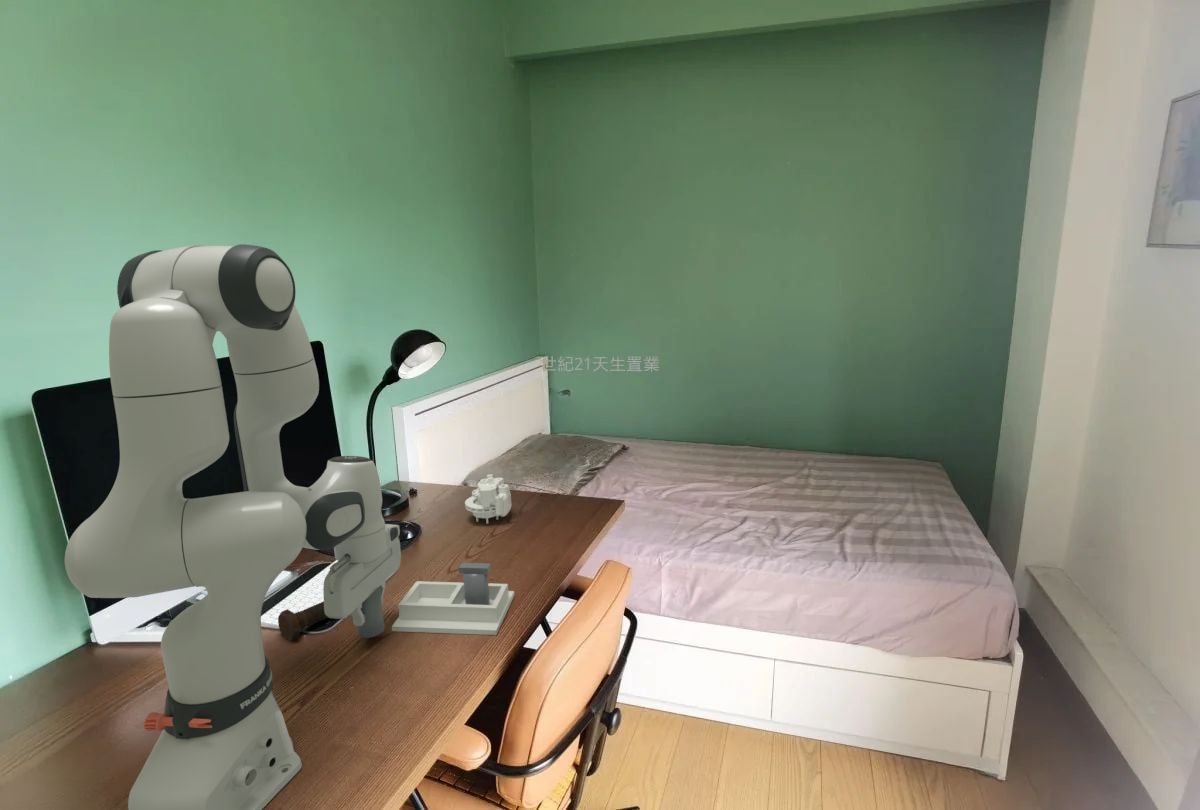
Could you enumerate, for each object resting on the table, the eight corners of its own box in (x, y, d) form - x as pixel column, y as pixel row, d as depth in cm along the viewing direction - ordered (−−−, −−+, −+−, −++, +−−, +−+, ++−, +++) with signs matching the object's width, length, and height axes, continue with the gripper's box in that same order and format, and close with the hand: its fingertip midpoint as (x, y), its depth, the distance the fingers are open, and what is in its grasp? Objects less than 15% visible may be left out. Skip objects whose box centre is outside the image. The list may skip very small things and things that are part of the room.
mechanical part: (474, 510, 175) (471, 469, 172) (516, 511, 173) (514, 470, 171) (460, 527, 164) (456, 484, 161) (504, 529, 162) (502, 485, 160)
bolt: (361, 613, 129) (288, 647, 117) (348, 595, 131) (275, 627, 119) (368, 594, 126) (294, 627, 114) (354, 576, 128) (280, 607, 116)
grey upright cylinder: (376, 638, 113) (371, 597, 112) (352, 636, 114) (347, 596, 112) (389, 624, 118) (384, 585, 116) (366, 623, 118) (361, 583, 117)
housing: (496, 635, 117) (492, 584, 114) (392, 631, 119) (386, 581, 116) (514, 595, 130) (511, 549, 128) (420, 592, 132) (415, 547, 130)
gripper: (343, 571, 102) (353, 648, 105) (403, 522, 122) (410, 589, 124) (308, 569, 103) (319, 646, 106) (373, 521, 123) (381, 587, 125)
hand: (369, 614), depth 115 cm, fingers closed on grey upright cylinder, 5 cm apart
